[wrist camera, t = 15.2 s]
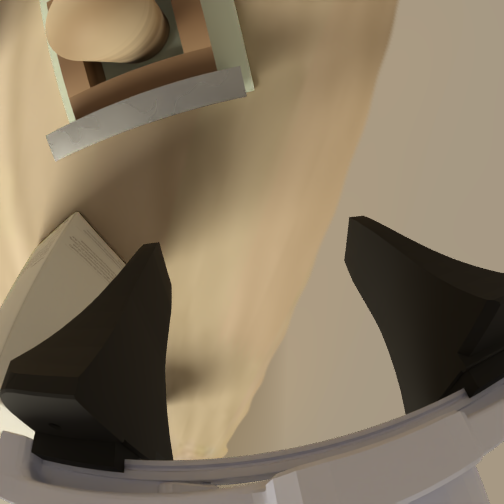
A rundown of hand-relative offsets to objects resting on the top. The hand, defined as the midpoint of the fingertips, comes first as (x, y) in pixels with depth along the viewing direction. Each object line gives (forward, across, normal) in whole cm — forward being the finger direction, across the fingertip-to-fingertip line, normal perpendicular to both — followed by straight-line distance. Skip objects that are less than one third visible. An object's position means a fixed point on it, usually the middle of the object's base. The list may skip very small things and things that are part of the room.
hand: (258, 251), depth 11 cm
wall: (+10, +4, -5) cm, 12 cm away
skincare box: (+11, +13, +6) cm, 18 cm away
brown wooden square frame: (+10, +5, -10) cm, 15 cm away
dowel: (+10, +5, -10) cm, 15 cm away
